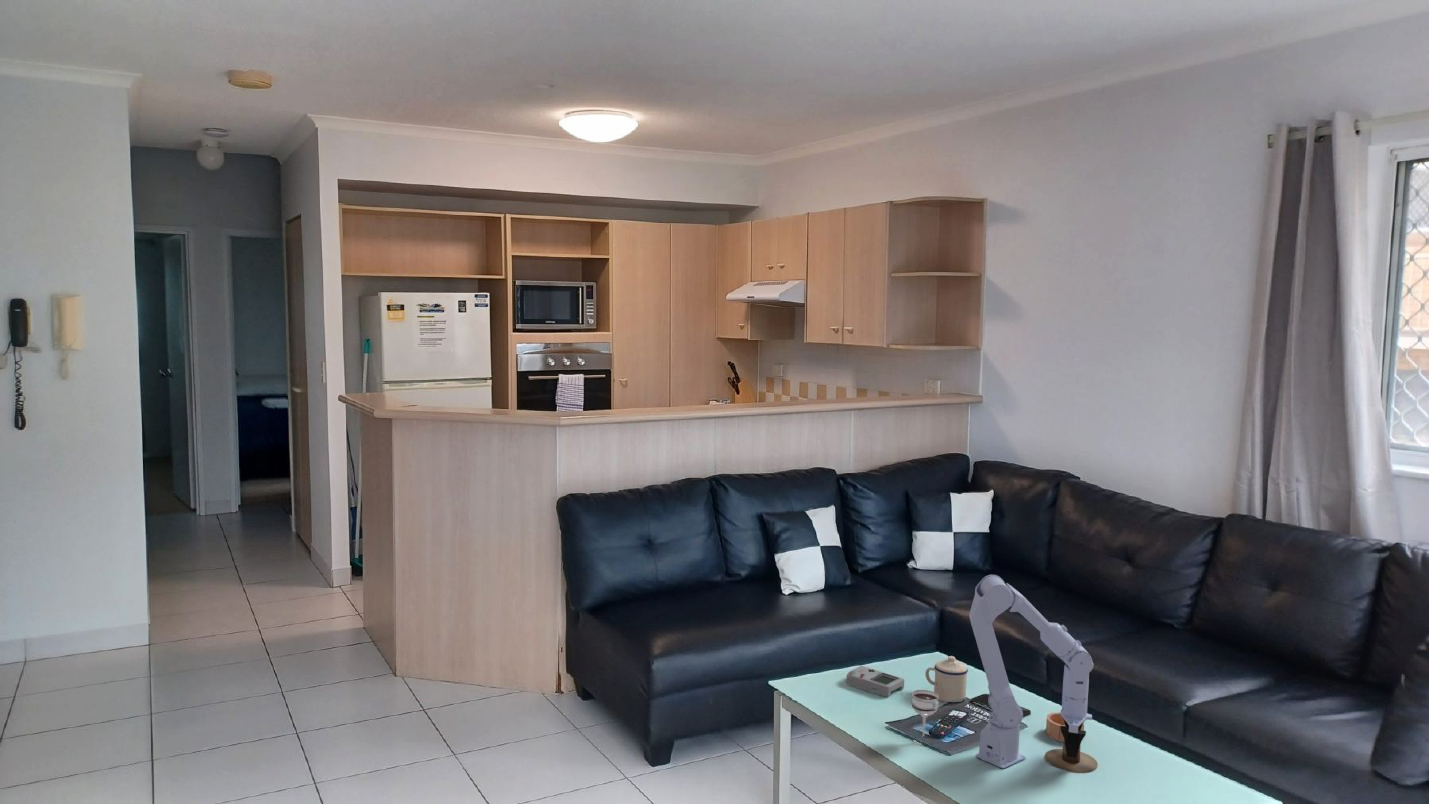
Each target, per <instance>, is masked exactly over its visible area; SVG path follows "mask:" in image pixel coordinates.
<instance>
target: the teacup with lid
mask: <svg viewBox="0 0 1429 804" xmlns="http://www.w3.org/2000/svg"><path fill="white" fill-rule="evenodd" d="M930 671H934V681H933V680H932V679H931V677H930V673H929V672H930ZM968 672H969V669H968V666H967V665H966V664H964V663H963V662H961V661H958V660H956V657H955V656H953V655H950V656H948V657H947V658H946V659H944V660H939V661H937V662H935V664H934V666H930V667H928V668H926V670H925V678H926V680H927V682H928V683H929V684H930V685H932V686H934V690H933V692H935V693H937V694H938V695H939V698H938V701H941V702H944V703H947V702H952V701H953V700H956V699H961V698H965V699H966V696H967V679H968V678H967V675H968Z"/></svg>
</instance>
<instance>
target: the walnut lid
mask: <svg viewBox="0 0 1429 804" xmlns="http://www.w3.org/2000/svg"><path fill="white" fill-rule="evenodd" d="M1044 759H1045V761H1046V762H1047V763H1048V764H1049V765H1051V766H1053V767H1055V768H1056V769H1059V770H1061V771H1066V772H1070V773H1076V774H1085V773H1092V772H1094V771H1096V770H1097V768H1098V762H1097V760H1096V759H1095V758H1094V757H1093V756H1091V755H1089V754H1087V753H1084V752H1082V751H1081V744H1080V747H1079V751H1078V755H1077V757H1076V758H1073V757H1068V756H1067V753H1066V746H1065V741H1063V742H1062V748H1053V749H1050V750H1047V751H1046V752H1045V754H1044Z"/></svg>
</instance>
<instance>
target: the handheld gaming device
mask: <svg viewBox="0 0 1429 804" xmlns="http://www.w3.org/2000/svg"><path fill="white" fill-rule="evenodd" d="M845 683H846V684H847V685H848V686H851V687H854V688H857V689H860V690H862V691H866V692H869V693H873V694H875V695H879V696H881V697H885V698H888V697H890V696H891V695H892V692H893V691H895V690H898V691H902V690H904V689H905V679H904V678H903V677H901V676H900V677H899V676H896V675H893V674H890V673H886V672H884V671H880V670H876V669H873V668H871V667H867V666H864V665H859V666H858V667H855V668H853V669H852V670H850V671H849V672H848V673H846V682H845Z"/></svg>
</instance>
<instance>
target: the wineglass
mask: <svg viewBox="0 0 1429 804" xmlns="http://www.w3.org/2000/svg"><path fill="white" fill-rule="evenodd" d="M911 695H912V697H911V699H910V700H911V701H910V704H911V707H912V709H913V711H914V712H915V713H916V714H918V715H920V716H921V718H922V737H923V736H924V737H925V731H926V720H927V718H928V717H929V716H933V715H934V714H935V713H936V712H937V711H938V709H939V704H940V702H939V700H938V698H939V695H938V694H937V693H935V692H934V690H933V691H932V690H927V689H916V690H913V691H911ZM912 741H913V743H915V744H916V745H919V746H924V745H922V744H921V743H919V742H917V741H916V740H913V739H912ZM924 747H925V746H924Z"/></svg>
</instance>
